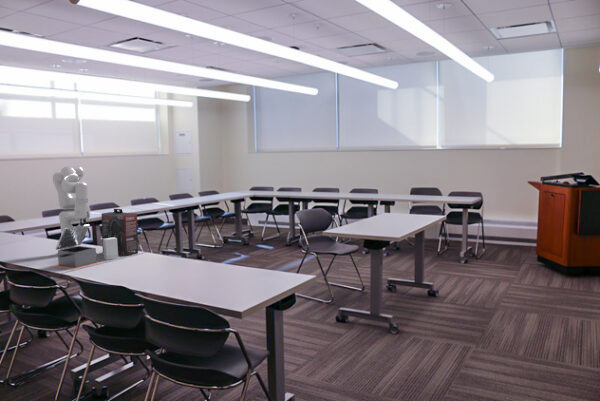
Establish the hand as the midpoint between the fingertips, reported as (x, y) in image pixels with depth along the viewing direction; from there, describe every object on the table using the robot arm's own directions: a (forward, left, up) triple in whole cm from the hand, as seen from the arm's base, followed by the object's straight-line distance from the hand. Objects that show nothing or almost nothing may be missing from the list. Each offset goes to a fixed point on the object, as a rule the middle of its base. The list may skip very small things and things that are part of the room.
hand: (83, 228), depth 318 cm
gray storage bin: (+2, -7, -22) cm, 24 cm away
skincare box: (+8, +15, -23) cm, 29 cm away
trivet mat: (+2, -7, -23) cm, 24 cm away
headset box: (-2, +33, -23) cm, 41 cm away
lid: (-1, -7, -5) cm, 9 cm away
